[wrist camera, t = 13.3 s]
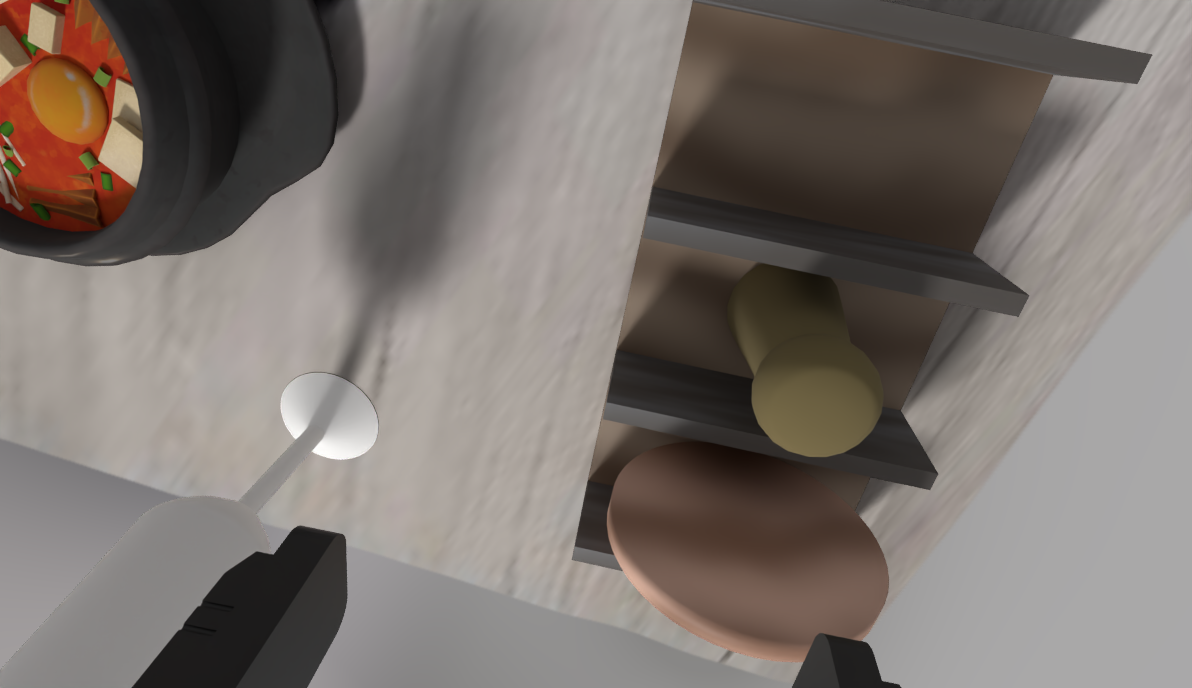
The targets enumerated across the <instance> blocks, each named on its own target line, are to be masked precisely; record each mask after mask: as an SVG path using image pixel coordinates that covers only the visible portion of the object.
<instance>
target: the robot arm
mask: <svg viewBox="0 0 1192 688" xmlns="http://www.w3.org/2000/svg"><path fill="white" fill-rule="evenodd" d="M346 603H347V562H346V539H345V536H344V535H343V534H340V533H335V532H330V531H325V530H320V529H315V528H310V527H305V526H297V527H296V528H294V529H293V530H292V531H291V532H290V534H289V535H288V536H287V538H286V539H285V540H284V541H283V543H282V544H281V545H280V547H279V548H278V550H277V551H276V552H275V553H274V555H272V554H268V553H263V552H258V551H256V552H255V553H253V554H252V555H250V556H249V557H247V558H246V559H244V560H243V561H241V562H240V563H238V564H237V565H235V566H234V567H232V568H231V569H229V570H228V571H226V572H225V573H224V574H223V576H222V577H221V578H220V579H219V580H218V582H217V583H216V584H215V585H214V587H213V588H212V589H211V590H210V592H209V593H208V594H207V595H206V596H205V598H204V599H203V600H202V604H201V606H197V608H196V609H195V610H194V611H193V613H192V614H191V615H190V616H189V617H188V619H187V620H186V621H185V622H184V625H183V628H182V629H181V630H178V631H177V632H176V633H175V635H174V636H173V637H172V638H171V640H170V641H169V642H168V643H167V645H166V646H165V647H164V648H163V649H162V651H161V652H160V653H159V654H158V656H157V657H156V658H155V659H154V661H153V662H152V663H151V664H150V666H149V667H148V668H147V669H146V670H145V672H144V673H143V674H142V675H141V677H140V678H139V679H138V680H137V682H136V683H135V684H134V685H133V686H132V688H307V687H308V685H309V683H310V681H311V680H312V678H313V676H314V674H315V672H316V671H317V669H318V667H319V665H320V663H321V661H322V659H323V658H324V656H325V654H326V652H327V651H328V649H329V647H330V645H331V643H332V642H333V640H334V638H335V636H336V634H337V632H338V630H339V627H340V625H341V622H342V619H343V616H344V613H345V609H346ZM792 688H901V687H900V685H898V684H894V683H889V682H883V681H882V680H881V676H880V673H879V670H878V667H877V663H876V660H875V657H874V654H873V651H872V649H871V647H870V646H869V644H868V643H866V642H863V641H858V640H853V639H848V638H843V637H838V636H833V635H828V634H824V633H819V634H818V635H817V636H816V637H815V639H814V641H813V643H812V645H811V647H810V649H809V652H808V654H807V656H806V658H805V660H804V662H803V665H802V667H801V669H800V671H799V673H798V676H797V678H796V680H795V682H794V684H793V686H792Z"/></svg>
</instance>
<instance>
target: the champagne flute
mask: <svg viewBox="0 0 1192 688" xmlns="http://www.w3.org/2000/svg"><path fill="white" fill-rule="evenodd" d="M281 413H282V417H283V420H284V423H285V425H286V427H287V429H288V430H289V431H290V433H291V434H292V436H293V437H294V438H295V439H296V440H295V441H294V442H293V444H292V445H291V446H290V447H289V448H288V449H287V450H286V451H285V452H284V453H283V454H282V455H281V456H280V457H279V458H278V459H277V461H276V462H275V463H274V464H273V465H272V466H271V467H270V468H269V469H268V470H267V471H266V472H265V473H264V474H263V475H262V476H261V478H260V479H259V480H258V481H257V482H256V483H255V484H254V485H253V486H252V487H251V488H250V489H249V490H248V491H247V492H246V494H245V495H244V496H243V497H242V498H241V499H240V500H239V501H235V500H230V499H225V498H219V497H214V496H194V497H185V498H179V499H175V500H171V501H167V502H164V503H161V504H159V505H157V506H155V507H153V508H151V509H150V510H148V511H147V512H145V513H144V514H142V515H141V517H140V518H139V519H138V520H137V521H136V522H135V523H134V524H133V525H132V526H131V528H130V529H129V530H128V531H127V532H126V533H125V534H124V535H123V536H122V537H121V539H120V540H119V541H118V542H117V543H116V544H115V545H114V546H113V547H112V548H111V549H110V550H109V552H108V553H107V554H106V555H105V556H104V557H103V558H102V559H101V560H100V561H99V562H98V564H97V565H96V566H95V567H94V568H93V569H92V570H91V571H90V572H89V573H88V574H87V576H86V577H85V578H84V579H83V580H82V581H81V582H80V583H79V584H78V585H77V587H76V588H75V589H74V590H73V591H72V592H71V593H70V594H69V595H68V596H67V597H66V599H65V600H64V601H63V602H62V603H61V604H60V605H59V606H58V607H57V608H56V609H55V611H54V612H53V613H52V614H51V615H50V616H49V617H48V618H47V619H46V620H45V621H44V623H43V624H42V625H41V626H40V627H39V628H38V629H37V630H36V631H35V632H34V633H33V635H32V636H31V637H30V638H29V639H28V640H27V641H26V642H25V643H24V644H23V645H22V647H21V648H20V649H19V650H18V651H17V652H16V653H15V654H14V655H13V656H12V658H11V659H10V660H9V661H8V662H7V663H6V664H5V665H4V666H3V668H2V669H1V670H0V688H132V686H133V685H134V684H135V683H136V682H137V680H138V679H139V678H140V677H141V675H142V674H143V673H144V672H145V670H146V669H147V668H148V667H149V666H150V664H151V663H152V662H153V661H154V659H155V658H156V657H157V656H158V654H159V653H160V652H161V651H162V649H163V648H164V647H165V646H166V645H167V643H168V642H169V641H170V640H171V638H172V637H173V636H174V635H175V633H176V632H177V631H178V630H181V629H182V628H183V625H184V622H185V621H186V620H187V619H188V617H189V616H190V615H191V614H192V613H193V611H194V610H195V609H196V608H197V606H201V604H202V600H203V599H204V598H205V596H206V595H207V594H208V593H209V592H210V590H211V589H212V588H213V587H214V585H215V584H216V583H217V582H218V580H219V579H220V578H221V577H222V576H223V574H224V573H225V572H226V571H228V570H229V569H231V568H232V567H234V566H235V565H237V564H238V563H240V562H241V561H243V560H244V559H246V558H247V557H249V556H250V555H252V554H253V553H255V552H256V551H258V552H263V553H268V554H271V550H270V543H269V540H268V536H267V534H266V532H265V530H264V528H263V526H262V524H261V522H260V520H259V518H258V516H257V515H256V514H257V513H258V512H259V511H260V510H261V509H262V508H263V506H264V505H265V504H266V503H267V502H268V501H269V500H270V498H271V497H272V496H273V495H274V494H275V493H276V492H277V490H278V489H279V488H280V487H281V486H282V485H283V484H284V482H285V481H286V480H287V479H288V478H289V477H290V476H291V474H292V473H293V472H294V471H295V470H296V469H297V468H298V466H299V465H300V464H301V463H302V462H303V461H304V460H305V458H306V457H307V456H308V455H309V454H310V453H311V452H314V453H316V454H318V455H321V456H323V457H327V458H332V459H342V460H343V459H352V458H355V457H358V456H360V455H362V454H364V453H365V452H367V451H368V450H369V449H370V448H371V447H372V445H373V444H374V442H375V441H376V438H377V434H378V418H377V414H376V412H375V409H374V407H373V405H372V404H371V402H370V400H369V399H368V398H367V397H366V395H365V394H364V393H363V392H362V391H361V390H360V389H359V388H357V387H356V386H355V385H354V384H352V383H350V382H349V381H347V380H345V379H343V378H341V377H338V376H336V375H332V374H327V373H308V374H304V375H302V376H299V377H297V378H295V379H294V380H292V381H291V382H290V383H289V384H288V385H287V387H286V388H285V390H284V392H283V394H282V398H281Z"/></svg>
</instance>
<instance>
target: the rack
mask: <svg viewBox="0 0 1192 688" xmlns="http://www.w3.org/2000/svg"><path fill="white" fill-rule="evenodd" d="M1151 56H1152V55H1151V54H1146V53H1141V52H1136V51H1131V50H1126V49H1121V48H1116V47H1111V46H1106V45H1101V44H1096V43H1091V42H1086V41H1081V40H1076V39H1071V38H1066V37H1061V36H1056V35H1051V34H1046V33H1041V32H1036V31H1031V30H1026V29H1021V28H1016V27H1011V26H1006V25H1001V24H996V23H991V22H986V21H981V20H976V19H971V18H967V17H962V16H957V15H952V14H947V13H942V12H937V11H932V10H927V9H922V8H917V7H912V6H907V5H902V4H897V3H892V2H887V1H882V0H693V3H692V7H691V12H690V16H689V21H688V26H687V30H686V35H685V39H684V44H683V48H682V53H681V58H680V62H679V67H678V71H677V76H676V80H675V85H674V89H673V94H672V99H671V103H670V108H669V112H668V117H667V121H666V126H665V131H664V135H663V140H662V144H661V149H660V153H659V158H658V162H657V167H656V172H655V176H654V181H653V185H652V190H651V194H650V199H649V204H648V208H647V213H646V217H645V222H644V226H643V231H642V236H641V240H640V245H639V249H638V254H637V258H636V263H635V267H634V272H633V277H632V281H631V286H630V290H629V295H628V299H627V304H626V309H625V313H624V318H623V322H622V327H621V331H620V336H619V340H618V345H617V350H616V354H615V359H614V363H613V368H612V372H611V377H610V382H609V386H608V391H607V395H606V400H605V404H604V409H603V414H602V418H601V423H600V427H599V432H598V436H597V441H596V445H595V450H594V455H593V459H592V464H591V468H590V473H589V477H588V482H587V487H586V492H585V497H584V502H583V507H582V512H581V517H580V522H579V527H578V532H577V537H576V542H575V547H574V552H573V557H572V560H575V561H580V562H584V563H589V564H593V565H598V566H602V567H607V568H611V569H616V570H620V571H624V573H625V574H626V576H627V577H628V579H629V580H630V581H631V583H632V584H633V585H634V586H635V587H636V589H637V590H638V591H639V592H640V593H641V594H642V595H643V596H644V597H645V598H646V599H647V600H648V601H649V602H650V603H651V604H652V605H653V606H654V607H655V608H656V609H658V610H659V611H660V612H661V613H663V614H664V615H665V616H667V617H668V618H669V619H671V620H672V621H673V622H675V623H676V624H678V625H680V626H681V627H683V628H684V629H686V630H687V631H689V632H691V633H692V634H694V635H696V636H698V637H700V638H702V639H704V640H706V641H708V642H710V643H712V644H715V645H717V646H720V647H723V648H725V649H728V650H730V651H733V652H736V653H740V654H743V655H747V656H751V657H754V658H760V659H766V660H772V661H781V662H804V660H805V658H806V656H807V654H808V652H809V649H810V647H811V645H812V643H813V641H814V639H815V637H816V636H817V635H818V634H819V633H824V634H828V635H833V636H838V637H843V638H848V639H853V640H858V641H861V640H862V639H863V638H864V637H865V636H866V635H867V634H868V633H869V632H870V630H871V628H872V627H873V625H874V623H875V621H876V619H877V618H878V616H879V614H880V612H881V610H882V608H883V606H884V604H885V601H886V598H887V594H888V588H889V575H888V568H887V564H886V561H885V558H884V554H883V552H882V550H881V548H880V546H879V544H878V542H877V540H876V538H875V537H874V535H873V534H872V532H871V531H870V529H869V528H868V526H867V525H866V524H865V523H864V521H863V520H862V519H861V518H860V516H859V515H858V514H857V513H856V512H855V510H856V507H857V505H858V503H859V501H860V499H861V496H862V494H863V492H864V490H865V488H866V485H867V483H868V481H869V479H870V477H872V478H877V479H881V480H886V481H891V482H895V483H900V484H904V485H909V486H914V487H918V488H923V489H927V490H930V489H931V487H932V485H933V483H934V481H935V479H936V477H937V475H938V473H937V471H936V469H935V468H934V466H933V464H932V463H931V461H930V459H929V458H928V456H927V454H926V452H925V451H924V449H923V447H922V446H921V444H920V442H919V441H918V439H917V437H916V436H915V434H914V432H913V431H912V429H911V427H910V425H909V424H908V422H907V420H906V419H905V417H904V415H903V414H902V412H901V409H902V406H903V404H904V402H905V400H906V398H907V395H908V393H909V391H910V389H911V387H912V384H913V382H914V380H915V378H916V376H917V373H918V371H919V369H920V367H921V365H922V362H923V360H924V358H925V356H926V354H927V351H928V349H929V347H930V345H931V343H932V340H933V338H934V336H935V334H936V332H937V329H938V327H939V325H940V323H941V321H942V318H943V316H944V314H945V312H946V310H947V307H948V305H949V303H955V304H960V305H965V306H970V307H974V308H979V309H984V310H989V311H993V312H998V313H1003V314H1008V315H1012V316H1017V317H1019V315H1020V313H1021V311H1022V309H1023V307H1024V305H1025V303H1026V301H1027V299H1028V297H1029V295H1028V294H1027V293H1025V292H1024V291H1023V290H1021V289H1020V288H1019V287H1017V286H1016V285H1014V284H1013V283H1012V282H1010V281H1009V280H1008V279H1006V278H1005V277H1004V276H1002V275H1001V274H1000V273H998V272H997V271H996V270H994V269H993V268H992V267H990V266H989V265H988V264H986V263H985V262H984V261H982V260H981V259H979V258H978V257H977V256H975V255H974V254H973V250H974V248H975V246H976V244H977V242H978V239H979V237H980V235H981V233H982V231H983V228H984V226H985V224H986V222H987V220H988V217H989V215H990V213H991V211H992V209H993V206H994V204H995V202H996V200H997V198H998V195H999V193H1000V191H1001V189H1002V187H1003V184H1004V182H1005V180H1006V178H1007V176H1008V173H1009V171H1010V169H1011V167H1012V165H1013V162H1014V160H1015V158H1016V156H1017V154H1018V151H1019V149H1020V147H1021V145H1022V143H1023V140H1024V138H1025V136H1026V134H1027V132H1028V129H1029V127H1030V125H1031V123H1032V121H1033V118H1034V116H1035V114H1036V112H1037V110H1038V108H1039V105H1040V103H1041V101H1042V99H1043V97H1044V94H1045V92H1046V90H1047V88H1048V86H1049V83H1050V81H1051V79H1052V77H1053V75H1060V76H1069V77H1078V78H1087V79H1096V80H1106V81H1115V82H1124V83H1133V84H1138V82H1139V80H1140V78H1141V76H1142V74H1143V72H1144V70H1145V68H1146V66H1147V64H1148V62H1149V60H1150V58H1151ZM763 263H765V264H770V265H774V266H779V267H784V268H789V269H793V270H798V271H803V272H808V273H812V274H817V275H822V276H827V277H831V279H832V280H833V281H834V283H835V284H836V285H837V288H838V291H839V295H840V299H841V303H842V307H843V311H844V315H845V320H846V324H847V328H848V333H849V337H850V341H851V344H853V345H854V346H856V347H857V348H859V349H860V350H862V351H863V352H864V353H865V354H866V355H867V357H868V358H869V359H870V361H871V362H872V363H873V365H874V366H875V368H876V369H877V371H878V372H879V376H880V379H881V383H882V387H883V396H884V398H883V405H882V413H881V415H880V417H879V419H878V421H877V423H876V425H875V427H874V429H873V430H872V431H871V433H870V434H869V435H868V436H867V437H866V438H865V439H864V440H863V441H862V442H860V443H859V444H858V445H857V446H855V447H853V448H851V449H849V450H847V451H846V452H844V453H840V454H836V455H832V456H828V457H808V456H804V455H800V454H797V453H793V452H790V451H787V450H785V449H784V448H782V447H781V446H779V445H777V444H776V443H774V442H773V441H772V440H771V439H770V438H769V436H768V435H767V434H766V433H765V431H764V430H763V429H762V428H761V426H760V425H759V424H758V421H757V419H756V416H755V413H754V410H753V406H752V383H753V380H754V377H755V376H754V374H753V373H752V371H751V369H750V367H749V365H748V363H747V361H746V360H745V358H744V356H743V354H742V352H741V350H740V349H739V347H738V345H737V343H736V341H735V339H734V337H733V336H732V333H731V330H730V327H729V324H728V321H727V305H728V302H729V299H730V296H731V294H732V291H733V289H734V287H735V286H736V285H737V284H738V282H739V281H740V280H741V279H742V277H743V276H744V275H745V274H747V273H748V272H749V271H751V270H752V269H754V268H755V267H757V266H758V265H760V264H763Z"/></svg>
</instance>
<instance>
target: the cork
mask: <svg viewBox="0 0 1192 688" xmlns="http://www.w3.org/2000/svg"><path fill="white" fill-rule="evenodd" d="M727 321H728V324H729V327H730V330H731V333H732V336H733V337H734V339H735V341H736V343H737V345H738V347H739V349H740V350H741V352H742V354H743V356H744V358H745V360H746V361H747V363H748V365H749V367H750V369H751V371H752V373H753V374H754V376H755V377H754V380H753V383H752V406H753V410H754V413H755V416H756V419H757V421H758V424H759V425H760V426H761V428H762V429H763V430H764V431H765V433H766V434H767V435H768V436H769V438H770V439H771V440H772V441H773V442H774V443H776V444H777V445H779V446H781V447H782V448H784V449H785V450H787V451H790V452H793V453H797V454H800V455H804V456H808V457H828V456H832V455H836V454H840V453H844V452H846V451H847V450H849V449H851V448H853V447H855V446H857V445H858V444H859V443H860V442H862V441H863V440H864V439H865V438H866V437H867V436H868V435H869V434H870V433H871V431H872V430H873V429H874V427H875V425H876V423H877V421H878V419H879V417H880V415H881V413H882V405H883V398H884V396H883V387H882V383H881V379H880V376H879V372H878V371H877V369H876V368H875V366H874V365H873V363H872V362H871V361H870V359H869V358H868V357H867V355H866V354H865V353H864V352H863V351H862V350H860V349H859V348H857V347H856V346H854V345H853V344H851V341H850V337H849V333H848V328H847V324H846V320H845V315H844V311H843V307H842V303H841V299H840V295H839V291H838V288H837V285H836V284H835V283H834V281H833V280H832V279H831V277H827V276H822V275H817V274H812V273H808V272H803V271H798V270H793V269H789V268H784V267H779V266H774V265H770V264H765V263H763V264H760V265H758V266H757V267H755V268H754V269H752V270H751V271H749V272H748V273H747V274H745V275H744V276H743V277H742V279H741V280H740V281H739V282H738V284H737V285H736V286H735V287H734V289H733V291H732V294H731V296H730V299H729V302H728V305H727Z"/></svg>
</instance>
